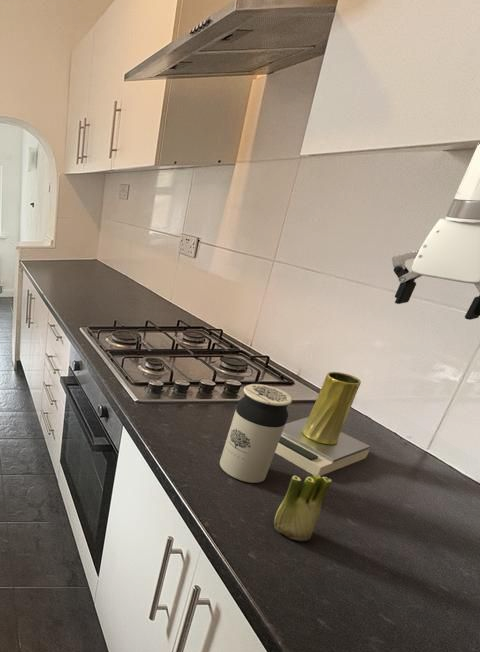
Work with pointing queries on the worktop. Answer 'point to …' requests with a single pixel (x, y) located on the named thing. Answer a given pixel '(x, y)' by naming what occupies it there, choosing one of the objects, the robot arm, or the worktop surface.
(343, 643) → the worktop surface
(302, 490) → the fennel bulb
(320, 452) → the gray slab
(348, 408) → the vase
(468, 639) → the worktop surface
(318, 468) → the scale
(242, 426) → the travel mug
